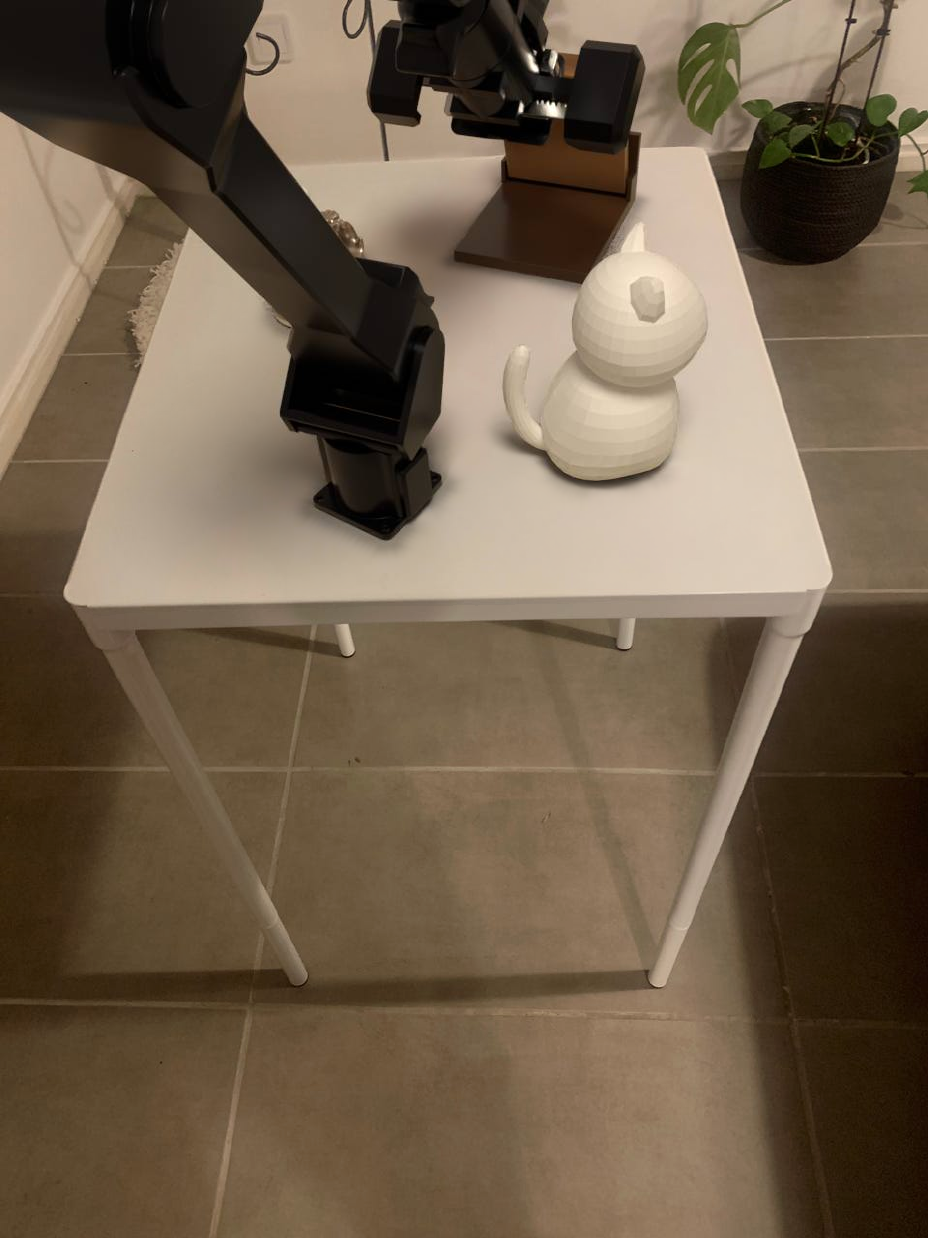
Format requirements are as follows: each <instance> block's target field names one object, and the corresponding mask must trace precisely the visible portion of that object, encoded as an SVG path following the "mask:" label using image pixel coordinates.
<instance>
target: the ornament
mask: <svg viewBox="0 0 928 1238" xmlns="http://www.w3.org/2000/svg"><path fill="white" fill-rule="evenodd" d="M320 212H321V214H322V215H323V216H324V218H325V219H326V220H327V222H328V223H329V224H330V225H331V227H332V228H333V229H334V231H335V232H336V233H337V235H338V236H339V237H340V239H341V240H342V241H343V243H344V244H345V245H346V247H347V248H348V249H349V251H350V252H351V253H352V255H353V256H354V257H359V258H364V253H365V244H364V239H363V237H362V236H358V234H357V231H356V230H355V227H354V226H353V225H352V224H351V223H350V222H349V221H348V220H343V219H342V218H340V214H339V213H338V212H337V211H336V210H334V209H333V210H331V209H326V210H325V211H322V210H320Z"/></svg>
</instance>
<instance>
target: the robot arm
mask: <svg viewBox="0 0 928 1238" xmlns="http://www.w3.org/2000/svg"><path fill="white" fill-rule="evenodd" d="M389 1H391V2H396V7H397V13H398V17H399V18H400V20H398V19H389V20H388V21H387V22H386V23H385V24H384V25H383V26H382V27H381V29H380V30H379V31H378V32H377V37H376V41H375V45H374V46H375V47H374V51H373V57H372V61H371V67H370V70H369V75H368V81H367V86H366V90H365V94H366V101H367V106H368V108H369V110H370V112H371V113H372V115H374V117H375V118H376V119H378V121H379V122H380V123H381V124H386V125H395V126H401V127H409V128H415V127H417V126H419V125H420V124H421V121H422V114H421V112H419V110H418V107H419V102H420V98H421V94H422V93H421V92H422V88H423V87H425V88H431V89H432V91H433V92H436V93H437V92H438V93H446V94H447V95H446V98H445V103H444V107H443V113H444V114H445V115H446V117H451V121H450V128H451V131H452V133H454V135H456V136H464V137H470V138H477V139H478V138H479V139H484V140H485V139H486V140H497V141H504V140H507V142H513V143H520V144H528V145H535V146H543V145H545V144H546V143H547V142H548V140H549V137H550V133H551V129H552V124H553V120H554V119H557V120H564V136H563V138H564V140H565V142H566V144H567V145H570V146H572V147H574V148H576V149H578V150H583V151H590V152H597V153H605V154H612V155H617V154H618V153H619V152H621V151H622V150H623V149H625V148H626V146H627V142H628V138H629V134H630V131H632V125H633V122H634V118H635V115H636V114H635V113H636V110H637V106H638V105H637V104H638V101H639V97H640V92H641V89H642V85H643V82H644V77H645V73H646V69H647V68H646V64H645V63H646V62H645V60H644V56H643V55H642V53H641V51H640V49H639V47H638V45H637V44H631V43H621V42H613V41H603V40H602V41H601V40H592V39H586V40H585V41H584V43H583V44H582V45H581V47H580V48H579V53H578V55H579V57H578V61H577V65H576V70H575V74H574V78H573V79H572V78H564V73H565V60H564V58H563V56H561V55H560V54H558V53H557V52H558V51H557V50H556V49H550V48H546V47H547V41H548V37H549V30H548V27H547V25H546V23H545V21H544V17H545V14H546V11H547V8H548V6H549V3H550V0H389ZM264 2H265V0H0V113H1V114H3V115H5V117H9V118H10V119H11V120H13V121H15V122H17V123H18V124H20V125H21V126H23V127H25V128H27V129H28V130H29V131H31V132H33V133H35V134H36V135H38V136H39V137H42V138H43V139H44V140H47V141H48V142H50V143H51V144H54V145H55V146H57V147H59V148H61V149H64V150H66V151H68V152H71V153H73V154H75V155H77V156H80V157H82V158H85V159H88V160H89V161H92V162H94V163H96V164H98V165H100V166H101V165H102V166H103V167H105V168H108V169H111V170H113V171H115V172H118V173H120V174H122V175H124V176H127V177H130V178H132V179H134V180H136V181H138V182H139V183H141V184H143V185H144V186H145V187H147V189H149V191H150V192H152V193H153V195H155V196H156V197H157V198H158V199H159V200H160V201H161V202H162V203H163V204H164V205H165V206H167V207H168V209H170V210H171V212H173V213H174V214H175V215H176V216H177V217H178V218H179V219H180V220H181V221H182V222H183V223H184V224H185V225H186V226H187V227H188V228H189V229H190V230H191V231H192V232H194V233H195V234H196V235H197V236H198V237H199V238H200V239H201V240H202V241H203V242H204V243H205V244H206V245H207V246H208V247H209V248H210V249H211V250H212V251H213V252H214V253H215V254H216V255H217V256H219V257H220V258H221V260H223V261H224V262H225V263H226V264H227V265H228V266H229V267H230V268H231V269H232V270H233V271H234V272H235V273H236V274H237V275H238V276H239V277H240V278H241V279H243V280H244V281H245V282H246V283H247V284H248V285H249V286H250V287H251V288H252V289H253V290H254V291H255V292H256V293H257V294H258V295H259V296H260V297H262V299H264V301H265V302H266V303H267V304H269V305H270V306H271V307H273V308H274V309H275V310H276V311H277V312H278V313H279V314H280V315H281V316H282V317H283V318H284V319H285V320H286V321H288V322H289V323H290V325H291V326H292V327H290V332H289V337H288V339H287V343H286V349H287V351H288V353H289V354H290V358H289V363H288V368H287V373H286V377H285V383H284V387H283V393H282V398H281V402H280V407H279V417H280V419H281V421H282V422H283V423H284V425H285V426H286V428H287V429H288V430H289V431H290V432H291V433H296V434H298V433H303V434H306V435H312V436H315V438H316V439H315V440H316V443H317V447H318V451H319V456H320V460H321V463H322V469H323V473H324V477H325V480H326V481H325V482H326V484H325V485H324V486H323V487H322V488H321V489H320V490H319V491H318V492H316V494H315V495H314V496H313V497H312V501H313V505H314V507H316V508H318V509H320V510H322V511H324V512H326V513H328V514H330V515H332V516H334V517H336V518H338V519H341V520H342V521H344V522H347V523H349V524H351V525H353V526H355V527H358V528H359V529H361V530H364V531H365V532H368V533H370V534H372V535H374V536H376V537H379V538H381V539H383V540H388V539H391V538H393V537H394V536H395V534H397V533H398V532H399V530H400V529H402V528H403V526H404V525H405V524H406V523H407V522H408V521H409V520H410V519H411V518H413V517H414V516H415V515H416V513H417V512H419V510H421V508H423V506H424V505H425V504H426V503H427V502H428V501H429V500H430V499H431V498H432V497H433V494H434V493H435V492H436V491H437V490H438V489H439V488H440V487H441V486H442V484H443V478H442V474H440V473H438V472H437V471H434V470H432V469H431V468H430V467H431V466H430V459H429V452H428V449H427V448H426V447H424V442H425V441H426V439H427V437H428V435H429V434H430V432H431V431H432V430H433V428H434V426H435V424H436V423H437V421H438V420H439V418H440V416H441V413H442V403H443V402H442V401H443V388H444V387H443V385H444V373H445V359H446V358H445V357H446V339H445V334H444V333H443V331H442V330H441V328H440V322H439V320H438V317H437V314H436V312H435V311H434V310H433V309H432V308H431V307H432V306H433V304H434V303H435V299H436V298H435V296H433V295H429V294H428V293H427V292H426V291H425V289H424V287H423V285H422V282H421V279H420V277H419V275H418V274H417V273H416V272H415V271H414V269H412V268H411V267H410V266H408V265H402V264H397V263H392V262H386V261H382V260H376V259H370V258H364V257H363V258H359V257H354V256H353V255H352V253H351V252H350V251H349V249H348V248H347V247H346V245H345V244H344V243H343V241H342V240H341V239H340V237H339V236H338V235H337V233H336V232H335V231H334V229H333V228H332V227H331V225H330V224H329V223H328V222H327V220H326V219H325V218H324V216H323V215H322V214H321V210H320V209H319V208H318V207H317V206H316V204H315V203H314V201H313V200H312V199H311V197H310V198H309V196H310V195H309V196H308V195H307V194H306V192H305V191H304V190H303V188H302V187H303V186H302V185H301V184H300V183H299V182H298V181H297V179H296V178H295V177H294V175H293V174H292V172H291V171H290V170H289V169H288V167H287V166H286V165H285V163H284V162H283V161H282V159H281V157H279V155H278V154H277V152H276V151H275V150H274V148H273V147H272V146H271V144H270V143H269V142H268V141H267V139H266V138H265V137H264V135H263V134H262V133H261V131H260V130H259V129H258V128H257V126H256V125H255V123H254V122H253V121H252V120H251V117H249V116H248V114H247V113H246V111H245V109H244V97H245V87H246V86H245V85H246V74H247V64H248V52H247V50H246V48H245V45H246V43H247V41H248V39H249V37H250V35H251V33H252V31H253V29H254V27H255V25H256V23H257V21H258V19H259V17H260V14H261V13H262V11H263V8H264ZM557 103H558V104H557ZM561 103H562V104H563V106H562V107H561ZM301 186H302V187H301ZM273 308H272V309H273Z"/></svg>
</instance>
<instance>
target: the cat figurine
mask: <svg viewBox="0 0 928 1238" xmlns="http://www.w3.org/2000/svg"><path fill="white" fill-rule="evenodd" d="M708 328H709V315H708V309H707V304H706V302H705V299H704V296H703V293H701V290H700V288H699V287H698V285H697V283H696V282H695V281H694V279H692V278H691V276H690V275H688V273H687V272H686V271H684V269H682V268H681V267H680V266H679V265H677V264H676V263H675V262H674V261H672V260H671V259H669V258H667V257H665V256H664V255H661V254H659V253H657V252H655V251H654V252H653V251H650V249H649V241H648V234H647V230H646V225H645V224H644V223H643V222H642V221H638V222H637V223H636V224H634V225H633V226H632V227H631V228H630V230H628V232H627V233H626V235H625V236H624V237H623V239H622V241H621V243H620V244H619V246H618V247H617V251H616V253H613V254H610V255H608V256H606V257H605V258H603V259H602V260H601V262H600V263H598V264H597V265H596V266H595V267H594V268H593V269H592V270H591V272H590V273H589V274H588V276H587V277H586V279H585V280H584V282H583V284H582V283H581V286H580V288H579V290H578V292H577V296H576V300H575V303H574V306H573V311H572V317H571V333H572V341H573V344H574V346H575V348H576V350H575V351H574V352H573V353H572V354H571V355H570V356H569V357H568V358H567V359H566V360H565V361H564V362H563V364H562V365H561V367H560V369H559V370H558V372H556V374H555V376H554V379H553V381H552V382H551V384H550V386H549V388H548V391H547V393H546V395H545V398H544V400H543V401H542V406H541V410H540V414H539V416H540V424H538V423H537V422H536V421H535V419H534V417H533V416H532V415H531V412H530V411H529V408H528V405H527V402H526V395H525V394H526V393H525V387H526V386H525V384H526V380H527V375H528V371H529V367H530V366H529V365H530V361H531V351H530V348H529V347H528V346H527V345H525V344H519V345H518V346H516V347H515V348H513V350H512V351H511V352H510V354H509V355H508V358H507V360H506V362H505V365H504V368H503V369H504V370H503V373H502V374H503V376H502V386H501V387H502V388H501V389H502V396H503V402H504V406H505V409H506V412H507V415H508V417H509V420H510V423H511V425H512V426H513V428H514V429H515V431H516V433H517V434H518V435H519V437H520V438H521V439H522V440H523V441H524V442H526V443H527V444H529V445H530V446H532V447H534V448H536V449H539V450H542V451H545V452H546V453H547V455H548V456H549V458H550V459H551V461H552V462H553V463H554V464H555V466H556V467H557V468H559V470H561V471H562V472H563V473H564V474H567V475H568V476H571V477H572V478H576V479H579V480H584V481H606V480H613V479H619V478H624V477H629V476H633V475H636V474H640V473H641V474H642V473H644V472H648V471H651V470H653V469H656V468H658V467H659V466H661V464H663V462H664V461H665V460H666V459H667V458H668V457H669V455H671V452H672V449H673V447H674V444H675V441H676V438H677V435H678V425H679V417H680V399H679V398H680V397H679V391H678V386H677V382H676V380H675V376H676V375H678V374H679V373H680V372H682V371H683V370H684V369H686V367H687V366H688V365H690V363H691V362H692V360H694V358H695V357H696V354H697V353H698V351H699V350H700V348H701V347H702V346H703V344H704V343H705V342H704V341H705V340H706V336H707V333H708Z"/></svg>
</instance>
